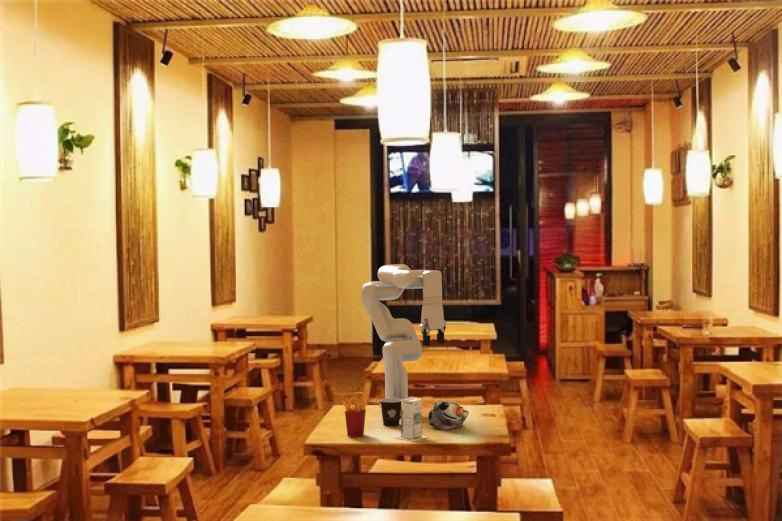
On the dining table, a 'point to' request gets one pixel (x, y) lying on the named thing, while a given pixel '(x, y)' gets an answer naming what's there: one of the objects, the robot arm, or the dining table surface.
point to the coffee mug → (391, 411)
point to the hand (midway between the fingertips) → (433, 344)
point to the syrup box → (411, 418)
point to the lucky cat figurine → (447, 415)
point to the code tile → (412, 439)
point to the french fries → (355, 417)
